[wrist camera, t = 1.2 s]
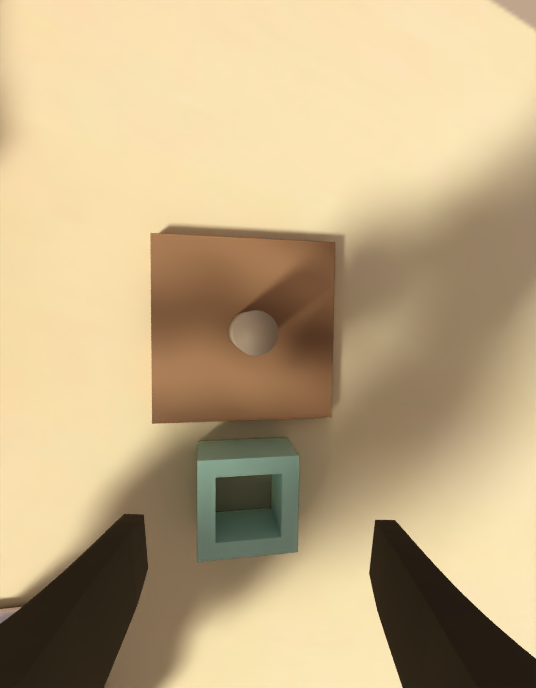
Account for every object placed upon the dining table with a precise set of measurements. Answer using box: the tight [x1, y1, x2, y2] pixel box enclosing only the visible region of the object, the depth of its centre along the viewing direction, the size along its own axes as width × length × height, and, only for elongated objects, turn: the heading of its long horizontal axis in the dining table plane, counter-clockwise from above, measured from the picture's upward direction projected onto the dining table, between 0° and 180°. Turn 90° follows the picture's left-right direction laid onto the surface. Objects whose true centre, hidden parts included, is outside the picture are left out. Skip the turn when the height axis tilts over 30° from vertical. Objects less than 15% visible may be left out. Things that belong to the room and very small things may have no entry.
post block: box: [151, 233, 335, 424], centre depth 18 cm, size 10×10×5 cm
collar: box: [197, 437, 299, 562], centre depth 20 cm, size 5×5×3 cm
